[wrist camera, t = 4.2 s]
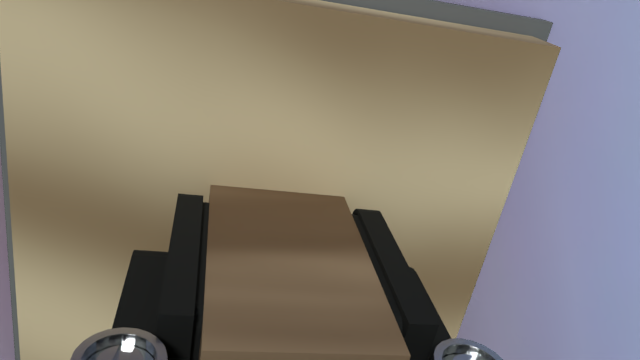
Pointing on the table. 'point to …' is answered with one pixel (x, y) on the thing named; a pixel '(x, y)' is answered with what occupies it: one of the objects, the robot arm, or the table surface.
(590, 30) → the table surface
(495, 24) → the mat
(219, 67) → the lid
